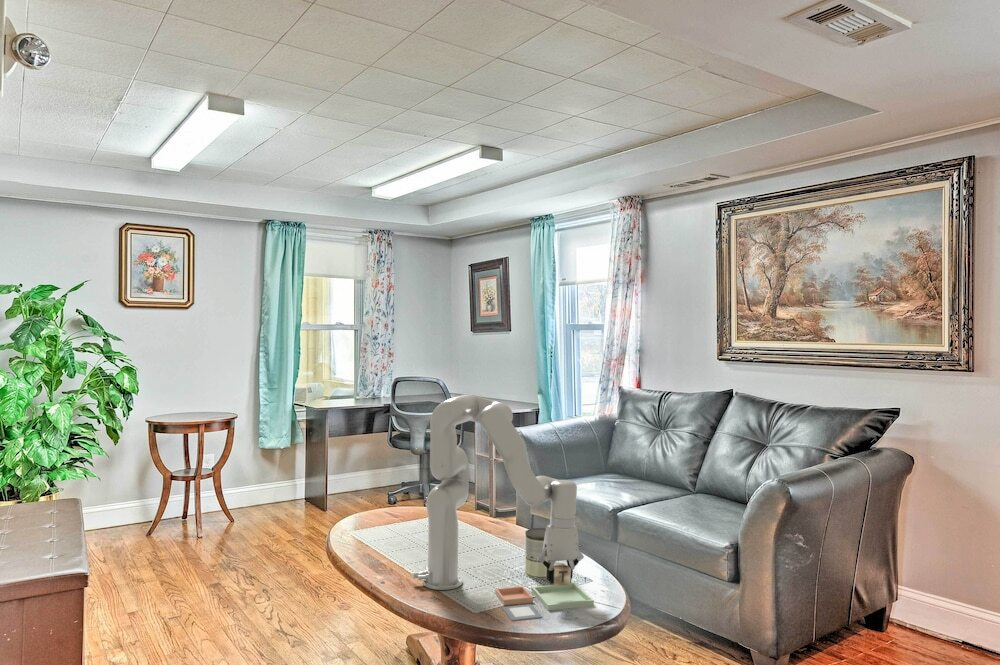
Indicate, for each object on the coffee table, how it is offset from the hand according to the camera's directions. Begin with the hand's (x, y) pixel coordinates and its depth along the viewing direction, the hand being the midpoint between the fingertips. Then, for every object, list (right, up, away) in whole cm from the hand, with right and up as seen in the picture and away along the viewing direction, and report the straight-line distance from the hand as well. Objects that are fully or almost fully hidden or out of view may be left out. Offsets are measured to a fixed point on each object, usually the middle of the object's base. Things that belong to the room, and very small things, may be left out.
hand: (559, 581), depth 211 cm
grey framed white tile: (-12, -6, -11) cm, 17 cm away
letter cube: (0, 0, 0) cm, 0 cm away
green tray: (+1, -6, 0) cm, 6 cm away
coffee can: (-5, -6, +21) cm, 22 cm away
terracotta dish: (-14, -5, 0) cm, 15 cm away
